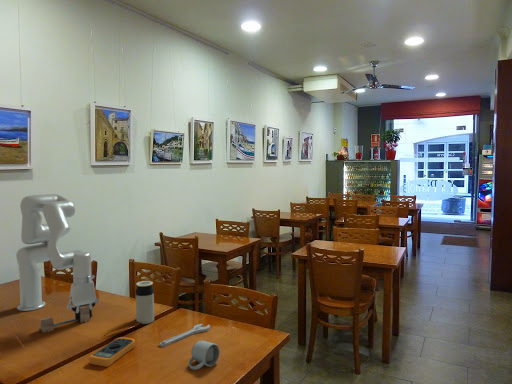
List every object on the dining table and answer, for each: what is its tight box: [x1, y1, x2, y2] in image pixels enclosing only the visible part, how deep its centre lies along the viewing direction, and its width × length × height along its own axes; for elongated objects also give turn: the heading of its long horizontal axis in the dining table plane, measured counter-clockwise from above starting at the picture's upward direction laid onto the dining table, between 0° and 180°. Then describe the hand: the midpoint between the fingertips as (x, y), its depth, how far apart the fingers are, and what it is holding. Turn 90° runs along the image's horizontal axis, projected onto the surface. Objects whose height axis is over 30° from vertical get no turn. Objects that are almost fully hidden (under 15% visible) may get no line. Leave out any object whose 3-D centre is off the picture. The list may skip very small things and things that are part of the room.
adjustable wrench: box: [159, 323, 211, 348], centre depth 163 cm, size 25×6×2 cm, turn 135°
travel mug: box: [135, 280, 155, 325], centre depth 178 cm, size 8×8×18 cm
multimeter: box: [89, 336, 136, 368], centre depth 146 cm, size 9×18×3 cm, turn 163°
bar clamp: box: [39, 315, 93, 334], centre depth 172 cm, size 6×22×5 cm, turn 133°
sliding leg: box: [78, 304, 91, 324], centre depth 176 cm, size 5×4×7 cm
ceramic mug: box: [188, 340, 221, 371], centre depth 139 cm, size 11×8×8 cm
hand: (83, 318), depth 176 cm, fingers closed on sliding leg, 4 cm apart
